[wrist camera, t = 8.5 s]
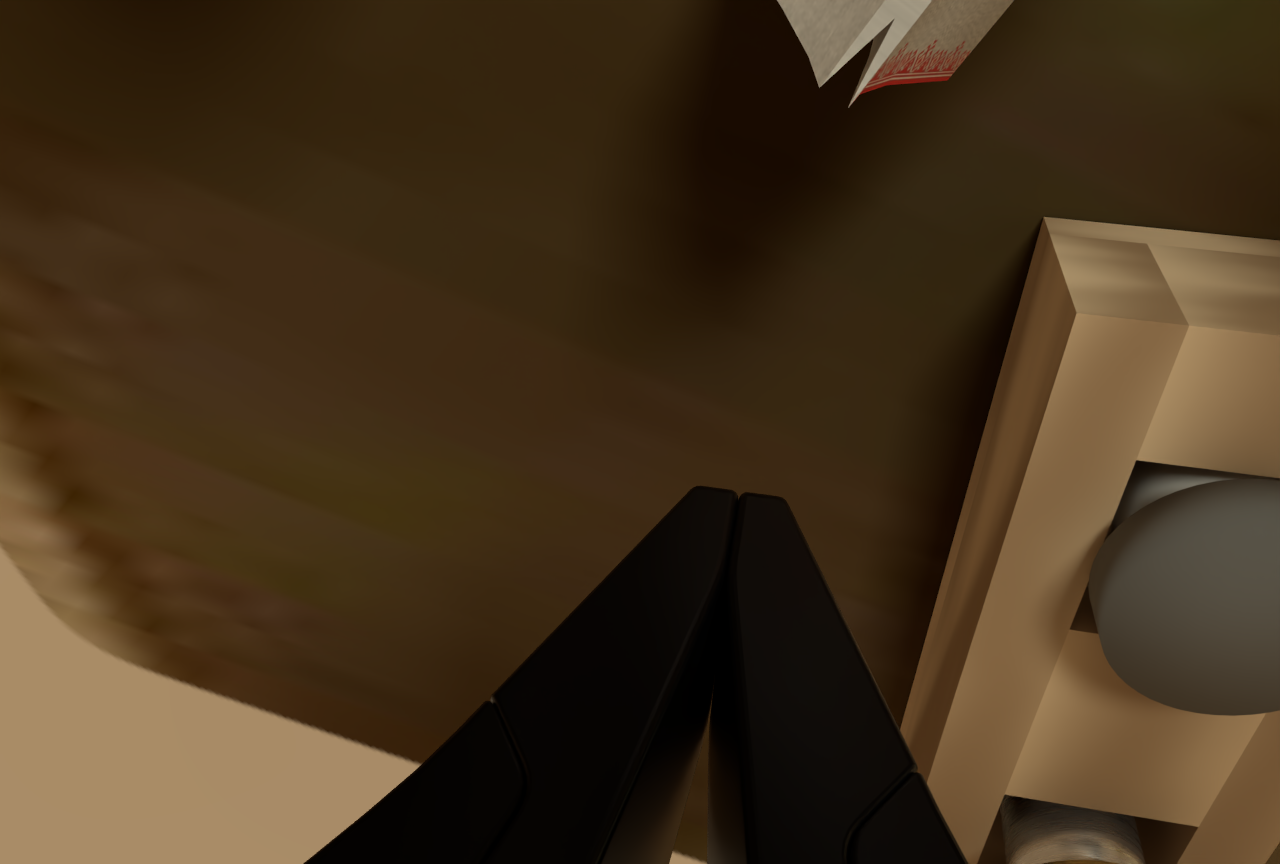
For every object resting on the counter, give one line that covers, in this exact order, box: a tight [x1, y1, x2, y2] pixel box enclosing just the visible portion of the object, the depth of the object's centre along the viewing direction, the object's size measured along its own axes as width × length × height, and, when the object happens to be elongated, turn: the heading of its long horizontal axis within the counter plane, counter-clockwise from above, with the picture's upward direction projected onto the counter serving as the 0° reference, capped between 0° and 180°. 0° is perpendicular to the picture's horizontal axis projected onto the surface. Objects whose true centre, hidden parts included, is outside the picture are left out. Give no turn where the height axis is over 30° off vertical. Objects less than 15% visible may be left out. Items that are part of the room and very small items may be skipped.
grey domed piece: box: [1088, 460, 1280, 716], centre depth 20 cm, size 5×5×4 cm
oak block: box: [900, 217, 1280, 864], centre depth 24 cm, size 8×20×4 cm, turn 178°
